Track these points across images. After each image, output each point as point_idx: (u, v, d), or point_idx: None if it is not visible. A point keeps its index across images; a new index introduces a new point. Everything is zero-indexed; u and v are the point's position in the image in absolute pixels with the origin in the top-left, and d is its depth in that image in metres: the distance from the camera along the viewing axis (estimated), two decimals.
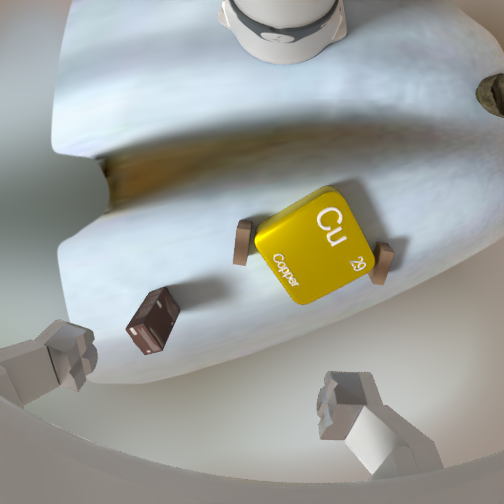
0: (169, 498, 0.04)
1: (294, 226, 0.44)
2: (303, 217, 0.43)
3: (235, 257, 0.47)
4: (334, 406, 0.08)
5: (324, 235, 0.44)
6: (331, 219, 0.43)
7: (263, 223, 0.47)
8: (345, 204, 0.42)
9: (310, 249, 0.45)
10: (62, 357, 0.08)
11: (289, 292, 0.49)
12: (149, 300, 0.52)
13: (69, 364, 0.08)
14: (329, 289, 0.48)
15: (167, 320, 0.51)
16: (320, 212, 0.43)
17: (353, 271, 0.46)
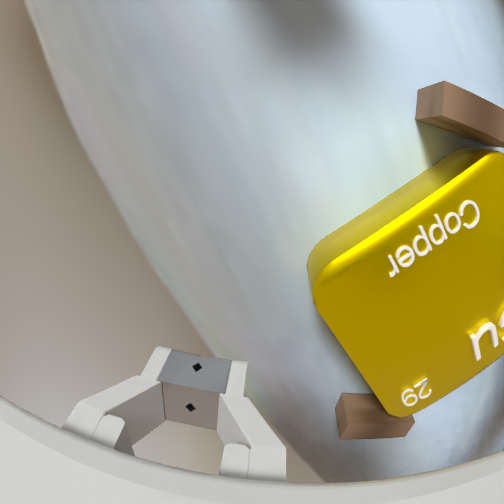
0: (169, 498, 0.04)
1: None
2: None
3: (461, 93, 0.11)
4: (190, 389, 0.08)
5: (490, 317, 0.15)
6: None
7: None
8: None
9: (473, 292, 0.14)
10: (181, 392, 0.08)
11: (363, 249, 0.14)
12: None
13: (190, 398, 0.08)
14: (364, 354, 0.16)
15: None
16: None
17: (400, 389, 0.17)
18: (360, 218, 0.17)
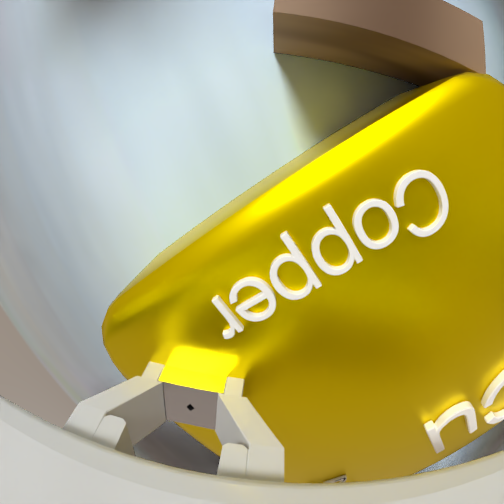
0: (169, 498, 0.04)
1: None
2: None
3: None
4: (189, 389, 0.08)
5: (465, 394, 0.08)
6: (502, 395, 0.08)
7: None
8: None
9: (433, 362, 0.08)
10: (183, 392, 0.08)
11: (160, 281, 0.07)
12: None
13: (191, 398, 0.08)
14: (217, 443, 0.09)
15: None
16: None
17: None
18: (209, 218, 0.10)
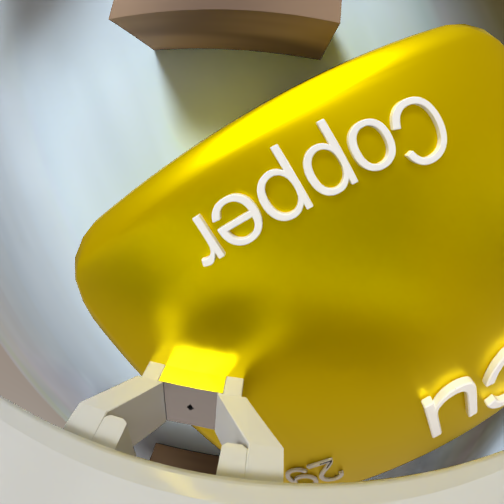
0: (169, 498, 0.04)
1: None
2: None
3: None
4: (189, 389, 0.08)
5: (467, 368, 0.08)
6: None
7: None
8: None
9: (434, 320, 0.07)
10: (183, 392, 0.08)
11: (140, 200, 0.07)
12: None
13: (191, 398, 0.08)
14: None
15: None
16: None
17: None
18: None
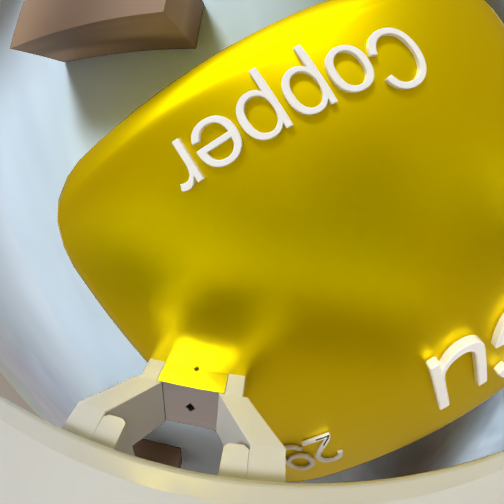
0: (169, 498, 0.04)
1: None
2: None
3: None
4: (190, 389, 0.08)
5: (473, 325, 0.07)
6: None
7: None
8: None
9: (434, 261, 0.07)
10: (182, 392, 0.08)
11: (123, 131, 0.06)
12: None
13: (190, 398, 0.08)
14: None
15: None
16: None
17: None
18: None
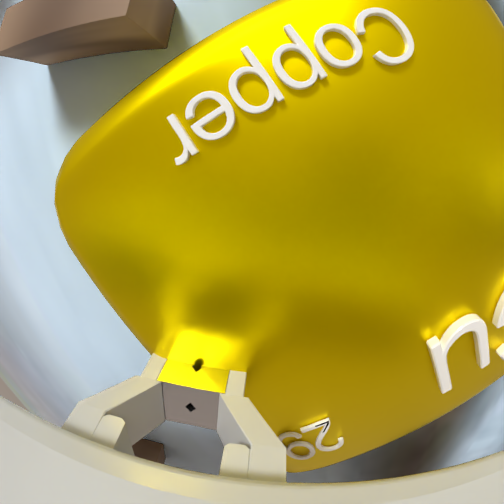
0: (169, 498, 0.04)
1: None
2: None
3: (23, 6, 0.05)
4: (190, 389, 0.08)
5: (474, 304, 0.07)
6: None
7: None
8: None
9: (430, 234, 0.07)
10: (181, 392, 0.08)
11: (120, 110, 0.06)
12: None
13: (190, 398, 0.08)
14: (165, 347, 0.08)
15: None
16: None
17: None
18: None
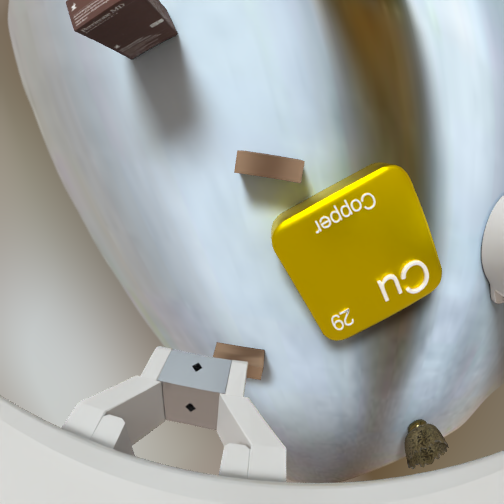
0: (169, 498, 0.04)
1: (411, 228, 0.27)
2: (421, 241, 0.27)
3: (250, 155, 0.26)
4: (191, 389, 0.08)
5: (392, 271, 0.28)
6: (411, 278, 0.29)
7: None
8: (424, 295, 0.29)
9: (375, 250, 0.28)
10: (181, 392, 0.08)
11: (300, 216, 0.27)
12: (161, 8, 0.21)
13: (190, 398, 0.08)
14: (302, 282, 0.29)
15: (124, 38, 0.21)
16: (424, 264, 0.28)
17: (329, 314, 0.30)
18: (304, 201, 0.30)
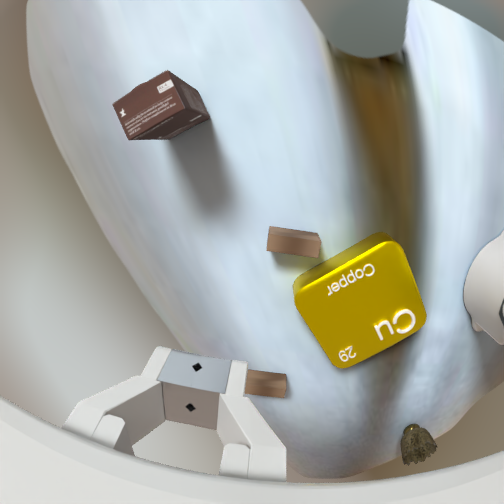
0: (169, 498, 0.04)
1: (402, 286, 0.35)
2: (409, 295, 0.35)
3: (279, 238, 0.34)
4: (191, 389, 0.08)
5: (386, 318, 0.36)
6: (401, 322, 0.37)
7: None
8: (412, 333, 0.37)
9: (373, 304, 0.36)
10: (181, 392, 0.08)
11: (316, 283, 0.36)
12: (196, 99, 0.29)
13: (189, 398, 0.08)
14: (317, 329, 0.38)
15: (167, 132, 0.29)
16: (411, 311, 0.36)
17: (337, 350, 0.39)
18: (319, 266, 0.38)
